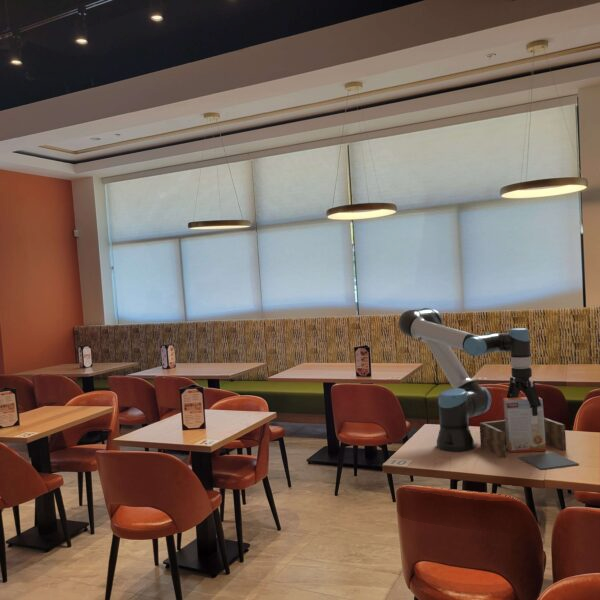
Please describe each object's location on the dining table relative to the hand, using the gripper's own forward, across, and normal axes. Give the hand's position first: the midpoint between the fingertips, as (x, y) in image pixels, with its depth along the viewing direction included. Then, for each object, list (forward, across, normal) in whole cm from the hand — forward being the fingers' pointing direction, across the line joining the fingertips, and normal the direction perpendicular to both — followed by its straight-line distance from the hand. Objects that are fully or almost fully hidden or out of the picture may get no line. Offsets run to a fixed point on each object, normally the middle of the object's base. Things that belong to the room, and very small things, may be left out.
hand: (524, 420), depth 230 cm
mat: (+12, -16, +1) cm, 20 cm away
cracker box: (+12, 0, 0) cm, 12 cm away
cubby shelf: (+12, +2, 0) cm, 12 cm away
